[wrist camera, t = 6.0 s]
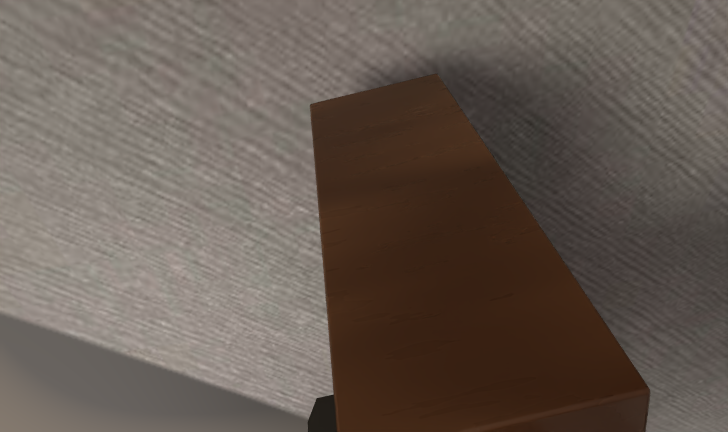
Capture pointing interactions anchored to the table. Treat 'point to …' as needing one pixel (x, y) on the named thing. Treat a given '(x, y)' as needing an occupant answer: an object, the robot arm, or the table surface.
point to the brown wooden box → (450, 283)
